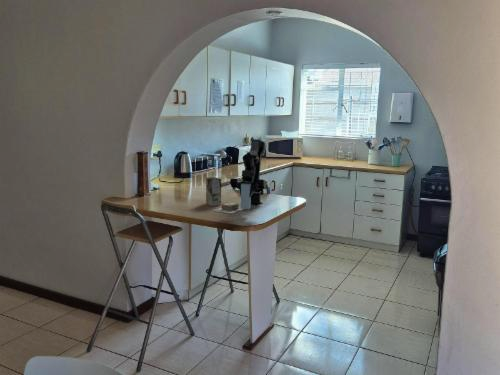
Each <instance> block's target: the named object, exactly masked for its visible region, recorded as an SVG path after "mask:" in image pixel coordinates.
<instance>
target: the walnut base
mask: <svg viewBox="0 0 500 375" xmlns="http://www.w3.org/2000/svg"><path fill="white" fill-rule="evenodd" d="M244 210H245V209H241V206H239V203H234V202H226V203H221V207H219V208H216V209H214V210H213V212H216V213H222V214H228V215H232V214H235V213H237V212H241V211H244Z"/></svg>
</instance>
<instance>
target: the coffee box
mask: <svg viewBox="0 0 500 375" xmlns="http://www.w3.org/2000/svg"><path fill="white" fill-rule="evenodd" d="M205 191H206V192H205V196H206V200H205V202H206V204H207V205H210V206H212V207H215V206H222V179H221V178H220V177H216V176H212V177H211V176H209V177H205Z"/></svg>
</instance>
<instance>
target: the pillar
mask: <svg viewBox="0 0 500 375" xmlns="http://www.w3.org/2000/svg"><path fill="white" fill-rule="evenodd" d="M250 190H251V184H244V183H243V184H242V185H241V196H240V207H241V209H244V210H250V209H251V207H252V206H251V205H252V204H251V197H249V195H250Z"/></svg>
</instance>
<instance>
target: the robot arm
mask: <svg viewBox="0 0 500 375" xmlns="http://www.w3.org/2000/svg"><path fill="white" fill-rule="evenodd" d="M266 146H267V145H266V143H265V141H263V140H261V139H252V140H251V142H250V150H249V151H248V152H246V154H244V155H243V156H242V161H243V162H242V163H243V166H244V169H243V170H241V179H239V178H233V177H232V178H230V180H229V183H230V187H231V188H233V189H234V188H235V189H237V190H239V194H240V197H241V185H242V184H243V183H244V184H251V190H250V195H249V197H251V205H255V206H258V205H261V204H263V202H262V201H261V196H262V195H264V193H265V192H264V190H265V187H266V184H265V179H263V178H262V179H261V178H260V175H261V164H262V156H263V154H264V153H265V150H266Z"/></svg>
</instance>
